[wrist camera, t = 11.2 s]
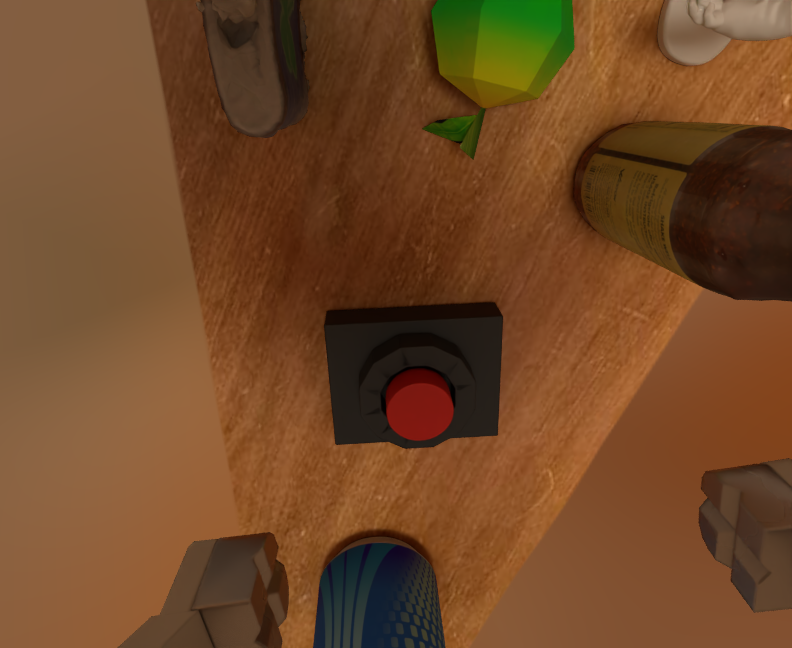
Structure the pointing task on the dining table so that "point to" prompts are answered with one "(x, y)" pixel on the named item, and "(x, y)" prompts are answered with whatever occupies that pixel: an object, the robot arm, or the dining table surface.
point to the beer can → (378, 598)
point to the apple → (498, 55)
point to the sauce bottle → (697, 201)
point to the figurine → (718, 26)
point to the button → (419, 404)
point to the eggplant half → (258, 62)
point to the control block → (413, 348)
